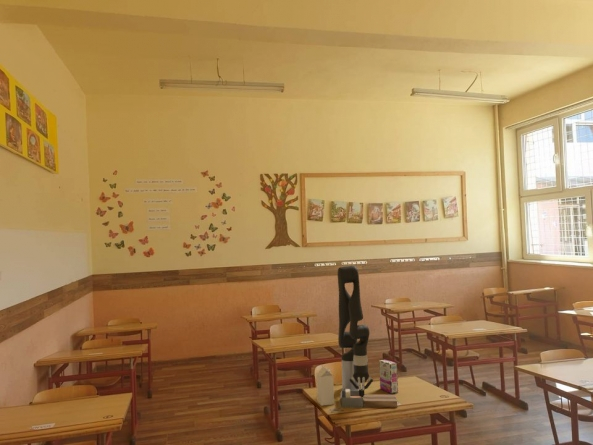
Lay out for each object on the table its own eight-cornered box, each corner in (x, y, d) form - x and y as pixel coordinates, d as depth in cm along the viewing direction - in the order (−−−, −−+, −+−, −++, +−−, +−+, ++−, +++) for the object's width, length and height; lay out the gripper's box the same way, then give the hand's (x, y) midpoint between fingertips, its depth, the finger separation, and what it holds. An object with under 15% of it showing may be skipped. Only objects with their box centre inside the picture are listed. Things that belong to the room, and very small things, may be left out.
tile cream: (350, 400, 246) (345, 400, 246) (349, 389, 246) (345, 389, 247) (350, 404, 240) (346, 404, 240) (350, 392, 240) (345, 392, 241)
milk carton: (321, 406, 240) (320, 369, 241) (317, 401, 247) (316, 366, 248) (334, 404, 242) (333, 367, 243) (329, 400, 249) (328, 364, 250)
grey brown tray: (363, 399, 248) (363, 394, 248) (395, 400, 246) (395, 394, 246) (363, 406, 237) (363, 400, 237) (397, 407, 235) (397, 401, 235)
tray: (341, 399, 251) (341, 390, 251) (362, 399, 249) (362, 390, 249) (340, 407, 238) (340, 397, 238) (363, 407, 236) (362, 398, 237)
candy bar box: (398, 392, 259) (397, 363, 260) (391, 394, 257) (390, 364, 258) (386, 387, 269) (385, 359, 270) (379, 388, 267) (378, 360, 268)
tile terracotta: (350, 400, 246) (350, 396, 246) (361, 400, 245) (361, 396, 245) (350, 404, 240) (350, 399, 240) (362, 404, 239) (362, 399, 239)
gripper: (372, 361, 247) (374, 394, 246) (348, 361, 249) (349, 394, 247) (373, 365, 240) (374, 399, 238) (348, 365, 241) (349, 398, 240)
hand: (361, 396), depth 243 cm, fingers closed
